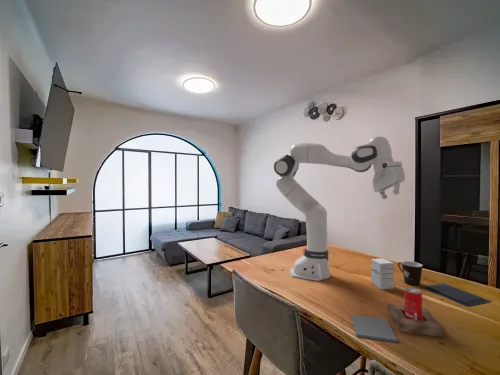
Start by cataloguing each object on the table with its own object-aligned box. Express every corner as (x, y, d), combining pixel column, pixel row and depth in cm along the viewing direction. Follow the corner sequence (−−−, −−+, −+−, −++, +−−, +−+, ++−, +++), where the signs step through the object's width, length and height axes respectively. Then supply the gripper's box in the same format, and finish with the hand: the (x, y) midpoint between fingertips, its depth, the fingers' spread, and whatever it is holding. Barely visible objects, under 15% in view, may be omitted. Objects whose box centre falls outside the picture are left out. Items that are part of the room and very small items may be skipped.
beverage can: (401, 319, 87) (401, 287, 87) (414, 318, 88) (414, 286, 88) (412, 328, 82) (411, 294, 82) (426, 327, 83) (425, 293, 82)
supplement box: (370, 283, 120) (370, 258, 120) (384, 282, 120) (384, 258, 120) (380, 289, 112) (380, 263, 112) (394, 288, 113) (394, 262, 113)
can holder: (399, 331, 80) (399, 322, 80) (387, 311, 93) (387, 304, 93) (444, 337, 77) (444, 328, 77) (425, 315, 89) (425, 308, 89)
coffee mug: (426, 287, 113) (426, 267, 113) (406, 286, 115) (406, 266, 115) (414, 278, 125) (414, 259, 125) (396, 277, 127) (396, 259, 126)
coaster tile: (356, 336, 78) (356, 334, 78) (351, 316, 90) (351, 314, 90) (397, 342, 75) (397, 340, 75) (386, 321, 86) (386, 319, 86)
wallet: (420, 284, 115) (444, 280, 118) (420, 288, 115) (444, 284, 118) (466, 304, 95) (494, 299, 99) (466, 309, 95) (494, 304, 99)
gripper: (367, 175, 123) (372, 201, 119) (390, 161, 103) (396, 191, 99) (379, 175, 123) (384, 201, 119) (404, 160, 103) (411, 190, 99)
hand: (390, 196), depth 109 cm, fingers open, 8 cm apart
